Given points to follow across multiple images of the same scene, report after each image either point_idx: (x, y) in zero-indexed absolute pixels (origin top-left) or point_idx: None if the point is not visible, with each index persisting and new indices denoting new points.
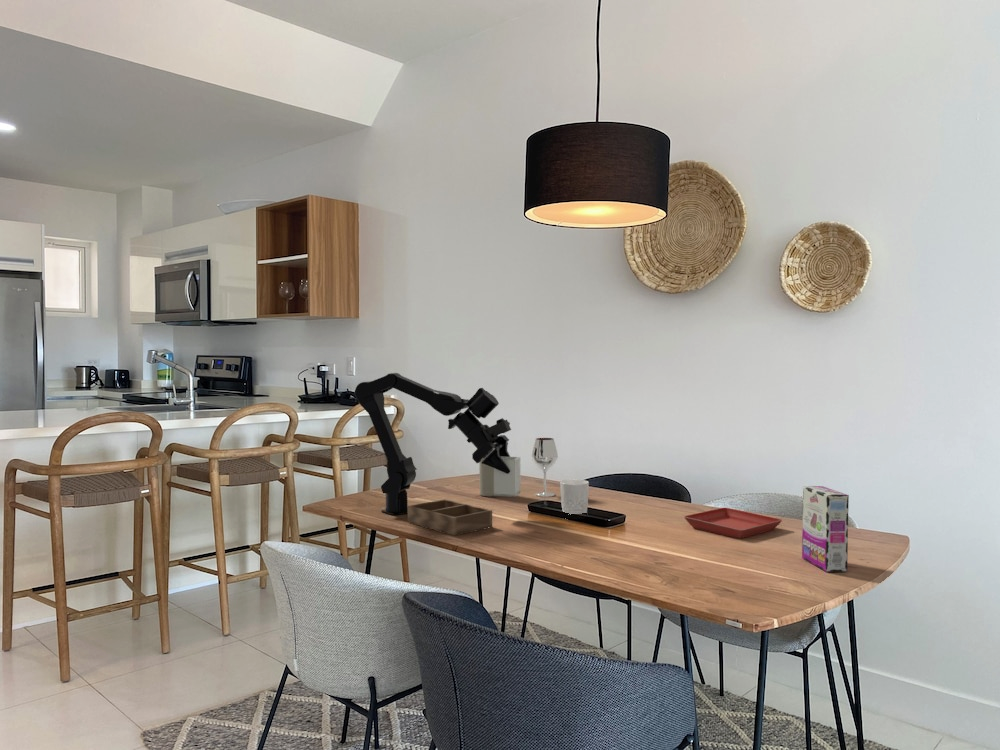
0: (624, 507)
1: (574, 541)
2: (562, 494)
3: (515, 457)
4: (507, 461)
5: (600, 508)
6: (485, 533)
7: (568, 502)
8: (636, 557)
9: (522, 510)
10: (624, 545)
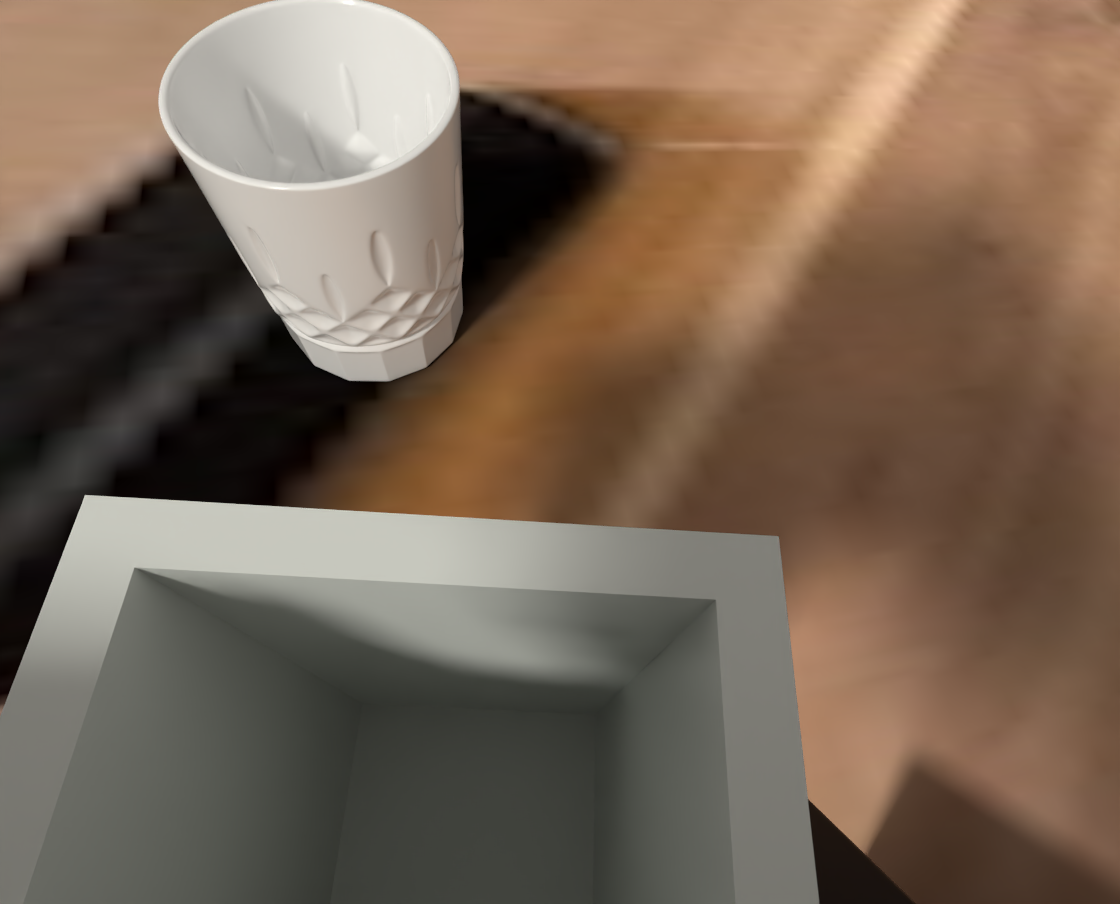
0: (66, 83)
1: (970, 276)
2: (404, 255)
3: (111, 648)
4: (792, 804)
5: (82, 190)
6: (1074, 900)
7: (452, 255)
8: (1089, 65)
9: None
10: (932, 95)
